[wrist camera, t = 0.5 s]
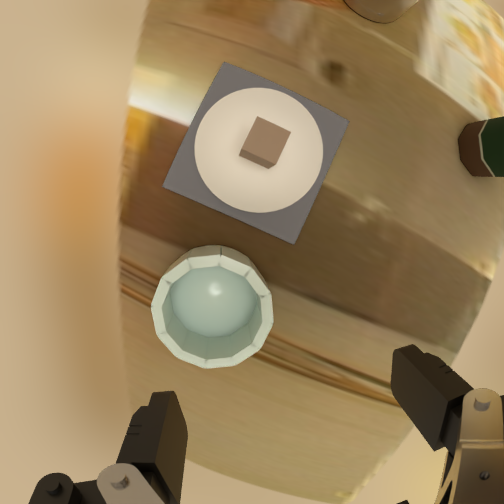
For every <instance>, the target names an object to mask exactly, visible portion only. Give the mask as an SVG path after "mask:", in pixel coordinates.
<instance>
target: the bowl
mask: <svg viewBox="0 0 504 504" xmlns="http://www.w3.org/2000/svg"><path fill="white" fill-rule="evenodd" d="M151 310H152V315H153V320H154V325H155V330H156V334H158V335H157V336H158V337H159V339H160V340H161V341H162V342H163V343H164V344H165V345H166V346H167V348H168V349H169V350H170V351H171V352H172V353H173V354H174V355H175V357H177V356H178V357H177V358H179V359H181V360H184V361H186V362H189V363H191V364H194V365H197V366H199V367H202V368H205V367H206V368H217V367H227V366H234V364H235V365H237V364H239V363H240V362H242V361H243V360H245V359H246V358H248V357H249V356H251V355H253V354H254V353H256V352H257V351H259V349H261V347H262V345H263V343H264V341H265V339H266V337H267V335H268V333H269V331H270V329H271V327H272V326H273V323H274V322H273V310H272V298H271V292H270V290H269V288H268V286H267V284H266V282H265V280H264V278H263V276H262V275H261V274H260V272H259V271H258V269H257V268H256V266H255V265H254V264H253V262H252V261H251V260H250V259H249V257H247V256H245V255H244V254H242V253H241V252H239V251H237V250H235V249H232V248H229V247H226V246H221V245H206V246H200V247H197V248H193V249H191V250H190V251H188V252H186V253H185V254H183V255H182V256H181V257H180V258H179V259H177V260H176V261H175V262H174V263H172V264H171V265H170V267H169V268H168V269H167V271H166V272H165V273H164V275H163V276H162V278H161V280H160V282H159V285H158V288H157V290H156V293H155V296H154V298H153V301H152V304H151Z"/></svg>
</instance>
